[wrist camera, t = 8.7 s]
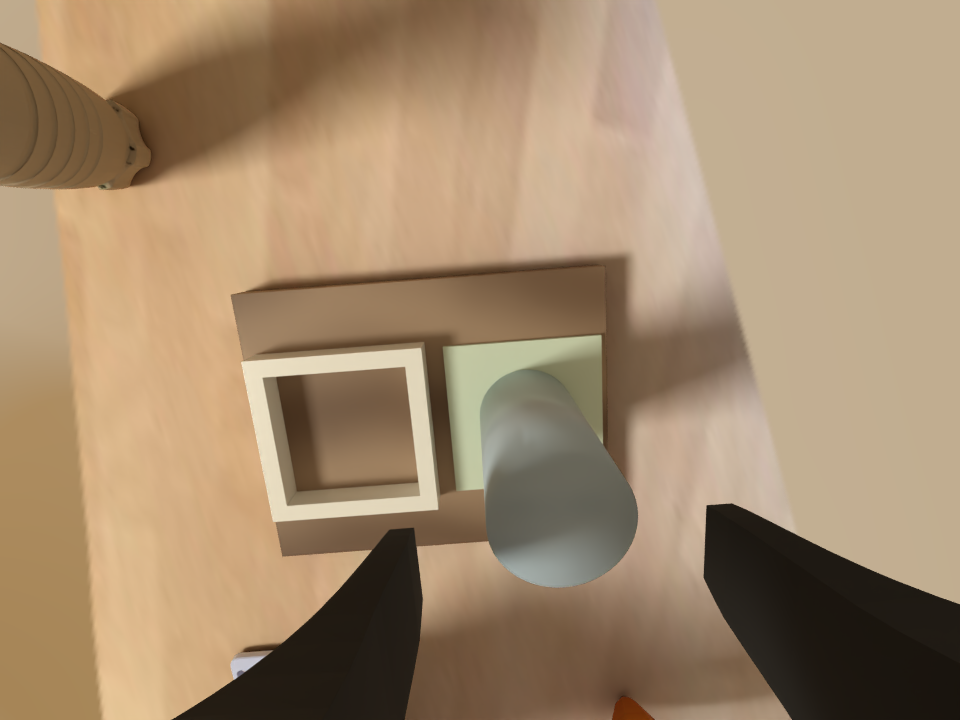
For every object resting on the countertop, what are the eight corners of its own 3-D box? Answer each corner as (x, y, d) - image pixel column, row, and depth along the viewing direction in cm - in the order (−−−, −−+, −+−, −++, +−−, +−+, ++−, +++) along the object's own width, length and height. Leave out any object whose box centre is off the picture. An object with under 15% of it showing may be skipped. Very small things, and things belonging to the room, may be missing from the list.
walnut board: (601, 517, 23) (608, 532, 22) (292, 540, 23) (282, 556, 22) (597, 264, 20) (605, 266, 19) (244, 292, 20) (230, 294, 19)
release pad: (602, 477, 21) (603, 480, 21) (456, 488, 21) (456, 491, 21) (600, 334, 20) (601, 335, 20) (443, 346, 20) (442, 347, 20)
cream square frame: (440, 495, 21) (438, 509, 20) (284, 506, 21) (273, 522, 20) (424, 342, 20) (421, 348, 19) (254, 354, 20) (241, 361, 19)
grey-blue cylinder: (575, 454, 21) (637, 581, 13) (483, 462, 21) (491, 593, 13) (572, 366, 20) (638, 445, 12) (476, 373, 20) (480, 458, 12)
